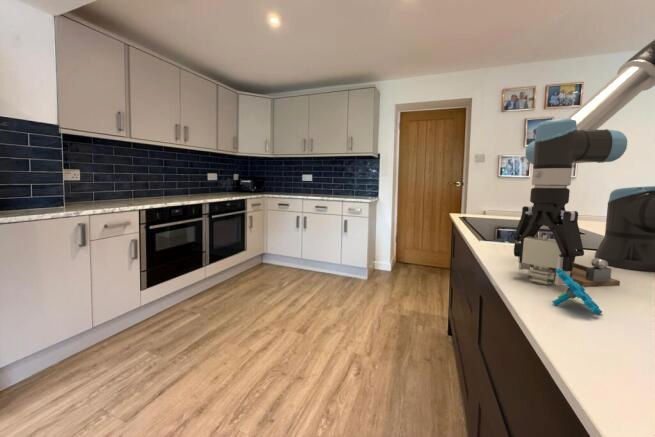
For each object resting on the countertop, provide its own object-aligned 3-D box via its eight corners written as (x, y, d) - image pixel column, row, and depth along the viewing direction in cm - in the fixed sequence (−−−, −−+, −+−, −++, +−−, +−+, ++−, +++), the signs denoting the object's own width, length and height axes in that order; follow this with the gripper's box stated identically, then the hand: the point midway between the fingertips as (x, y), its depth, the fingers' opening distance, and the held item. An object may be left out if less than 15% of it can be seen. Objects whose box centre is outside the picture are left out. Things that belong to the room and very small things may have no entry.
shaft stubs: (546, 260, 91) (547, 243, 90) (610, 281, 72) (612, 260, 72) (532, 260, 91) (534, 243, 90) (593, 281, 72) (595, 260, 71)
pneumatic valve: (568, 291, 69) (574, 239, 68) (511, 279, 77) (514, 233, 76) (573, 285, 73) (578, 236, 71) (517, 274, 81) (521, 230, 80)
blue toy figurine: (607, 316, 53) (561, 268, 57) (574, 332, 55) (532, 285, 60) (603, 305, 61) (563, 264, 65) (575, 319, 64) (538, 279, 68)
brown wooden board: (553, 264, 91) (554, 257, 91) (619, 285, 73) (620, 276, 72) (524, 264, 91) (524, 257, 90) (582, 286, 72) (583, 278, 72)
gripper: (502, 186, 83) (496, 263, 86) (580, 188, 60) (569, 293, 63) (528, 186, 84) (521, 262, 87) (615, 188, 61) (602, 292, 64)
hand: (541, 275), depth 75 cm, fingers open, 11 cm apart
